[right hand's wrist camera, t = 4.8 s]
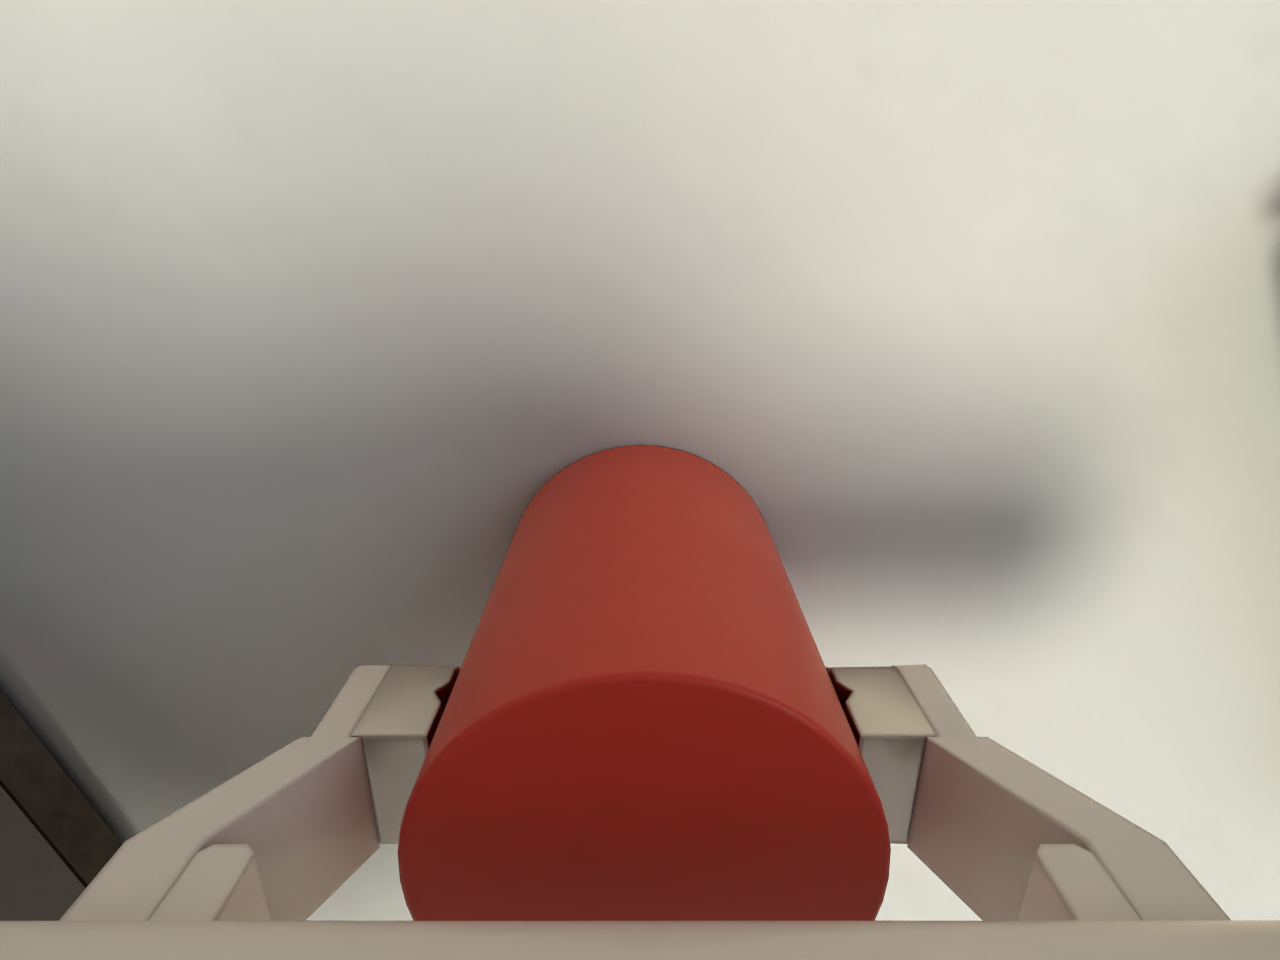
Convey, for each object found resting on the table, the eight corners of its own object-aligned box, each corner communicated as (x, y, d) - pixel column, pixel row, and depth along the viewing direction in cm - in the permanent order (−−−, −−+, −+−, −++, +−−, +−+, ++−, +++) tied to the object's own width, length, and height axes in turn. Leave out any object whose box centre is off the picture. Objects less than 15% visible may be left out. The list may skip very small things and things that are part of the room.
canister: (764, 675, 16) (864, 1042, 9) (520, 677, 16) (426, 1043, 9) (780, 442, 14) (925, 672, 7) (502, 445, 14) (360, 676, 7)
